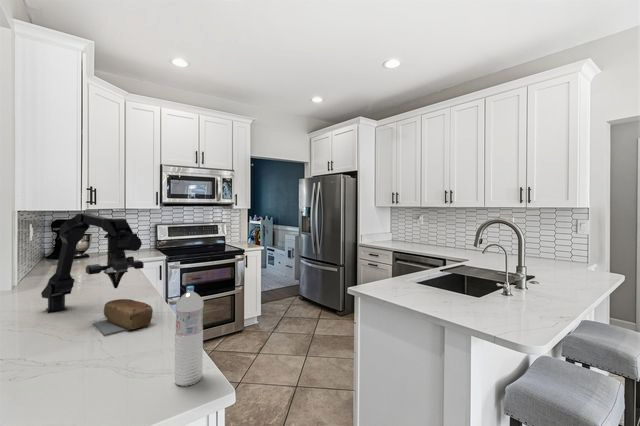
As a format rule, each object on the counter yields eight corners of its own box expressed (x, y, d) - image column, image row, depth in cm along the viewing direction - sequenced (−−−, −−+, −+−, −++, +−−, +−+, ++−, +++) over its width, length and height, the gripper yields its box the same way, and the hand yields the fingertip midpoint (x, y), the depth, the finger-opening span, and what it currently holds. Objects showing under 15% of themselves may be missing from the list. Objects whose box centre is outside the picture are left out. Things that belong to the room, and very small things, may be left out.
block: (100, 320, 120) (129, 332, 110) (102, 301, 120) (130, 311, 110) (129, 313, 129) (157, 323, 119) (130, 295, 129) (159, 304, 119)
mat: (93, 324, 117) (93, 322, 117) (133, 315, 128) (133, 314, 128) (104, 336, 107) (104, 334, 107) (147, 325, 117) (147, 324, 117)
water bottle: (180, 373, 84) (181, 283, 84) (205, 372, 84) (207, 283, 84) (170, 387, 77) (171, 290, 77) (197, 387, 78) (199, 290, 77)
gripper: (92, 254, 109) (92, 296, 110) (148, 249, 123) (148, 287, 123) (85, 250, 117) (85, 291, 117) (139, 247, 131) (138, 283, 131)
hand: (115, 288), depth 122 cm, fingers closed
